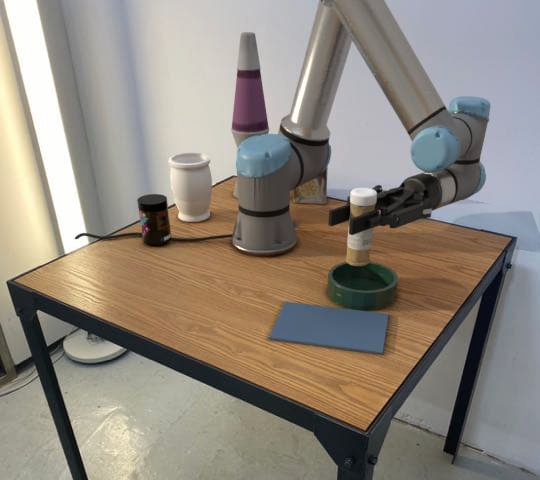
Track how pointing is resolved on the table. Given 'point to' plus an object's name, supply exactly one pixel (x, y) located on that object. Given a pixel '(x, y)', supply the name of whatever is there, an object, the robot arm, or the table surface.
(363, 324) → the mat
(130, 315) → the table surface
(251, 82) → the lamp
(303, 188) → the coffee box
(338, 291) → the bowl
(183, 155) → the jar
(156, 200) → the supplement container
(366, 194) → the sprinkles bottle
